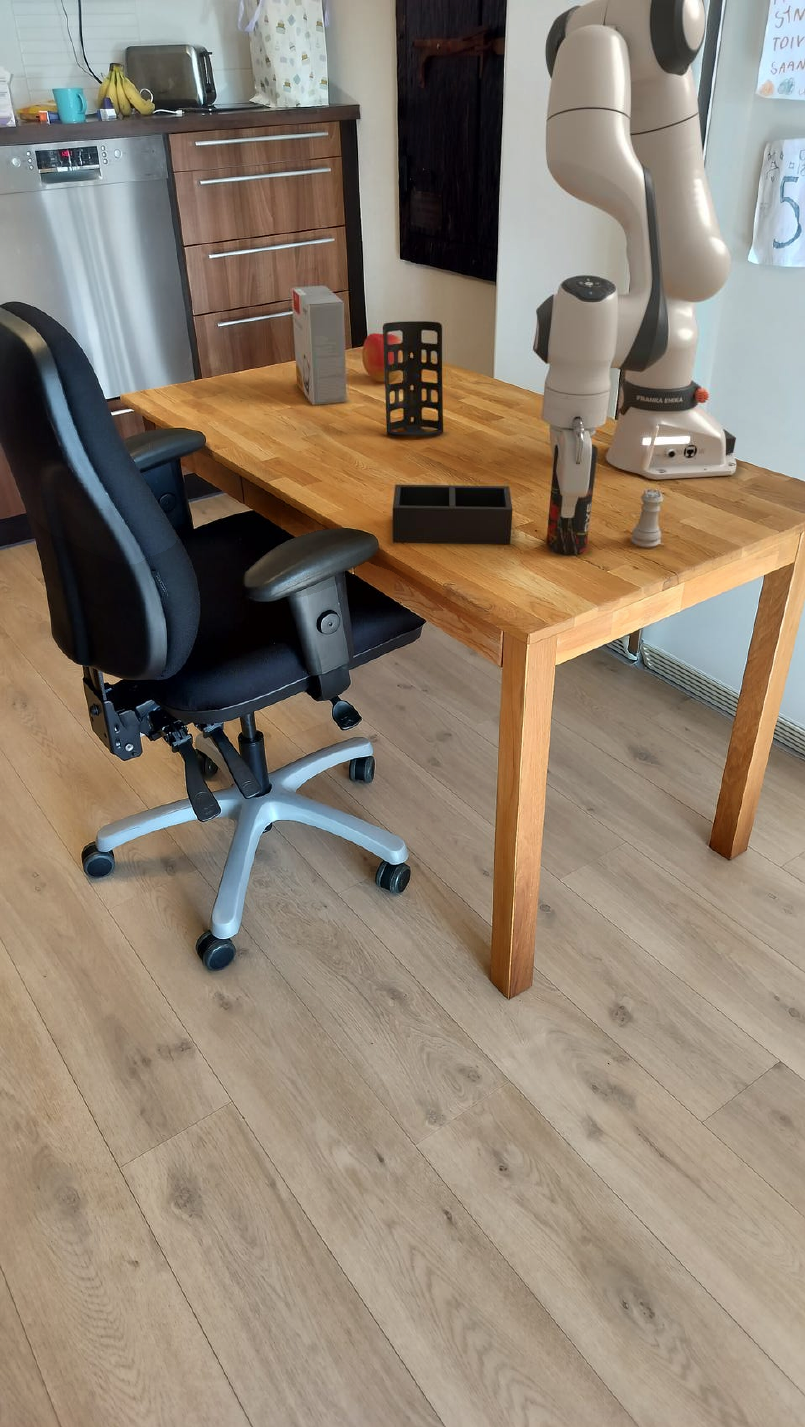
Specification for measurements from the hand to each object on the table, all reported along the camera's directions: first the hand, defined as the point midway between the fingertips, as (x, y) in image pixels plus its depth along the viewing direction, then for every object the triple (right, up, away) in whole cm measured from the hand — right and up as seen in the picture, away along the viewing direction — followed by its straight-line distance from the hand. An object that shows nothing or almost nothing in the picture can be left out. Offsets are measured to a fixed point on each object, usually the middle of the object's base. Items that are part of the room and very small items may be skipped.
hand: (564, 503), depth 144 cm
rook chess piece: (+13, -5, +5) cm, 15 cm away
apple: (-27, +42, +75) cm, 90 cm away
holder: (-21, +23, +46) cm, 56 cm away
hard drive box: (-41, +37, +67) cm, 87 cm away
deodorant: (+1, -6, +4) cm, 7 cm away
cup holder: (-16, -3, +8) cm, 18 cm away
